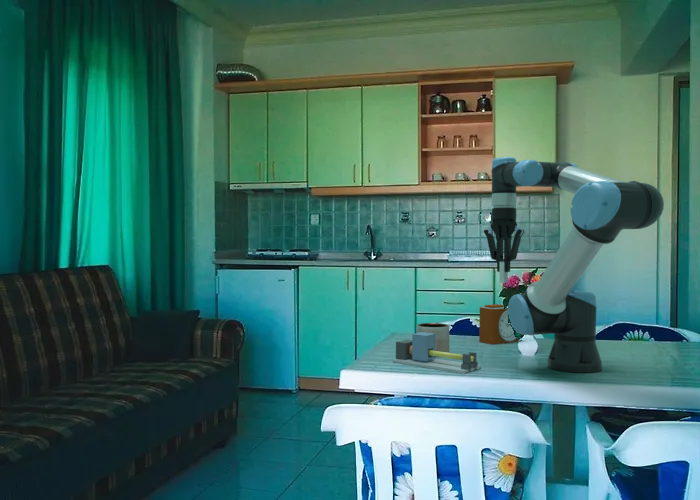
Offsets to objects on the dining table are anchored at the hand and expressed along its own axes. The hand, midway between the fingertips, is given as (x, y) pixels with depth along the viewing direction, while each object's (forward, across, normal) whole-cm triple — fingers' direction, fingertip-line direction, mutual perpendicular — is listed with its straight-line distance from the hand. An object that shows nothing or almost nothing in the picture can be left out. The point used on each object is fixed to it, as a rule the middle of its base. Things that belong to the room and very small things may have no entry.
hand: (503, 282), depth 207 cm
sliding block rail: (+24, +12, +21) cm, 34 cm away
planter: (+25, +22, +6) cm, 34 cm away
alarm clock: (+24, +16, -31) cm, 43 cm away
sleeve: (+23, +16, +21) cm, 35 cm away
